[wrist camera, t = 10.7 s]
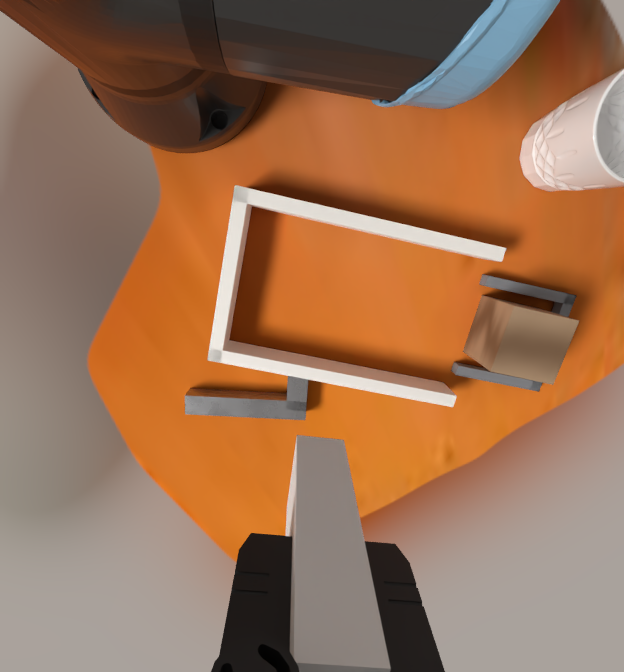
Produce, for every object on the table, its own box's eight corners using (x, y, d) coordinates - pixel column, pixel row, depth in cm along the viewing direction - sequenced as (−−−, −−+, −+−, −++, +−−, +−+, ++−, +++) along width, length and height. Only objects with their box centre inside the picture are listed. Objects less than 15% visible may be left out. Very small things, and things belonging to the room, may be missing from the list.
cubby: (241, 189, 35) (234, 184, 31) (487, 246, 37) (506, 248, 33) (215, 349, 39) (207, 360, 35) (440, 392, 41) (452, 407, 37)
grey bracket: (482, 274, 38) (488, 275, 36) (568, 293, 38) (576, 295, 37) (451, 370, 40) (455, 374, 39) (532, 387, 41) (538, 391, 40)
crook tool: (190, 360, 39) (184, 366, 37) (308, 366, 40) (308, 373, 38) (190, 405, 40) (185, 414, 38) (305, 411, 41) (305, 420, 39)
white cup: (599, 96, 34) (719, 41, 24) (597, 189, 36) (707, 173, 26) (510, 112, 34) (594, 64, 24) (513, 205, 36) (592, 194, 26)
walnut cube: (481, 294, 38) (514, 306, 32) (537, 307, 39) (579, 320, 33) (462, 351, 40) (490, 371, 34) (516, 362, 40) (553, 384, 34)
